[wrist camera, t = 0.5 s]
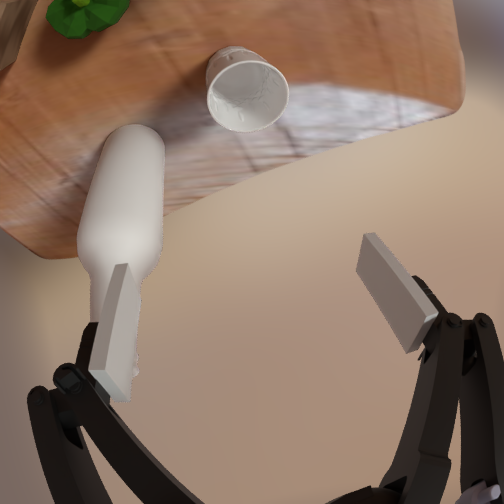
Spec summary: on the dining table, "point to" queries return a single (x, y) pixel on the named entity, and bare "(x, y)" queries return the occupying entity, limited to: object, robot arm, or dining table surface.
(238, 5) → the dining table surface
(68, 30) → the bell pepper
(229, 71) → the white cup
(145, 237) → the alcohol
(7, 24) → the button box
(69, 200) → the dining table surface
